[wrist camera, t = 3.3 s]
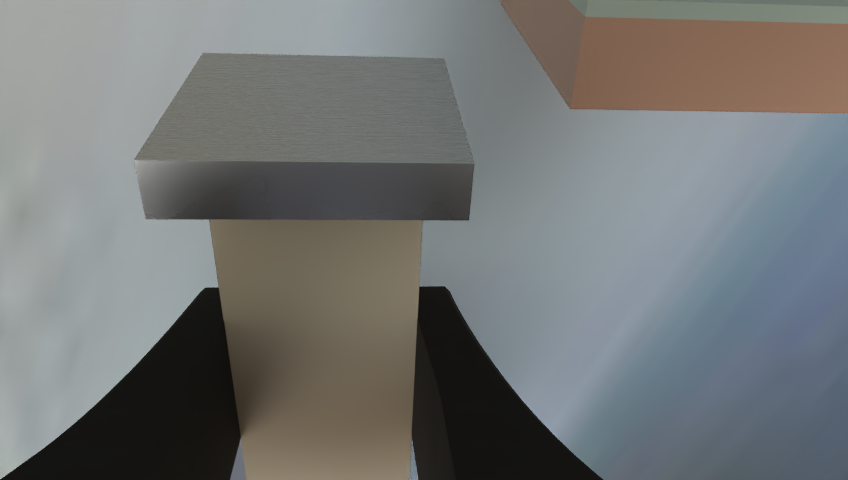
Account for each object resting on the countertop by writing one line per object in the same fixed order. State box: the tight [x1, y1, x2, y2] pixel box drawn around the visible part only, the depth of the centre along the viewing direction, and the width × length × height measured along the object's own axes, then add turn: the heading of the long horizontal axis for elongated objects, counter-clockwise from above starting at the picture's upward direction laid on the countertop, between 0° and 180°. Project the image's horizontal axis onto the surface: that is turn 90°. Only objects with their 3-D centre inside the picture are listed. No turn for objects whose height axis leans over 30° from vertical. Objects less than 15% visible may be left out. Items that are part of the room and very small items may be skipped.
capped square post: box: [134, 53, 474, 480], centre depth 13 cm, size 11×4×4 cm, turn 177°
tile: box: [501, 0, 848, 113], centre depth 16 cm, size 2×12×8 cm, turn 87°
